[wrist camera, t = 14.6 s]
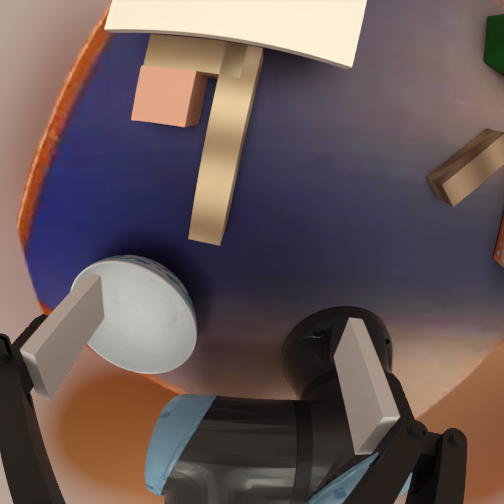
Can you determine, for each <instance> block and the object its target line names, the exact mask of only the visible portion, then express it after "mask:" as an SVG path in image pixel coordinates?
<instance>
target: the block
mask: <svg viewBox="0 0 504 504" xmlns="http://www.w3.org/2000/svg"><path fill="white" fill-rule="evenodd" d="M207 82H208V78H207V77H206V76H204V75H202V74H201V73H199V72H197V71H192V70H184V69H175V68H165V67H153V66H141V70H140V75H139V80H138V85H137V90H136V95H135V101H134V106H133V112H132V118H131V120H137V121H145V122H152V123H160V124H167V125H174V126H180V127H188V126H193V125H199V120H200V115H201V110H202V105H203V101H204V96H205V91H206V87H207Z"/></svg>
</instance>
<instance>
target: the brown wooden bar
mask: <svg viewBox="0 0 504 504" xmlns="http://www.w3.org/2000/svg"><path fill="white" fill-rule="evenodd" d="M503 164H504V132H499V131H494V130H489V129H486V130H484V131H483V132H482V133H481V134H480V135H478V136H477V137H476V138H475V139H473V140H472V141H471V142H470V143H468V144H467V145H466V146H465V147H464V148H462V149H461V150H460V151H459V152H457V153H456V154H455V155H453V156H452V157H451V158H450V159H448V160H447V161H446V162H445V163H443V164H442V165H441V166H440V167H438V168H437V169H436V170H434V171H433V172H432V173H431V174H429V175H428V176H427V179H428V181H429V182H430V184H431V186H432V188H433V190H434V192H435V194H436V196H437V198H439V199H441V200H442V201H444V202H446V203H447V204H449V205H450V206H452V207H454V206H455V205H456V204H458V203H459V202H460V201H461V200H462V199H464V198H465V197H466V196H467V195H468V194H470V193H471V192H472V191H473V190H474V189H476V188H477V187H478V186H479V185H480V184H482V183H483V182H484V181H485V180H486V179H487V178H489V177H490V176H491V175H492V174H493V173H494V172H495V171H497V170H498V169H499V168H500V167H501V166H502V165H503Z"/></svg>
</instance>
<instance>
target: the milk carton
mask: <svg viewBox="0 0 504 504" xmlns="http://www.w3.org/2000/svg"><path fill="white" fill-rule="evenodd" d="M484 62H485V63H487V64H488V65H490V66H491V67H493V68H494V69H496V70H497V71H499V72H500V73H502V74H503V75H504V14H501V15H494V16H488V20H487V35H486V46H485V55H484Z"/></svg>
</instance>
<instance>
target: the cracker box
mask: <svg viewBox="0 0 504 504" xmlns="http://www.w3.org/2000/svg"><path fill="white" fill-rule="evenodd" d="M493 259H494V260H496V261H497V262H498V263H499V264H500V265H501V266H502V267H503V268H504V215H503V219H502V224H501V228H500V233H499V237H498V241H497V245H496V249H495V252H494V256H493Z"/></svg>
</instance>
